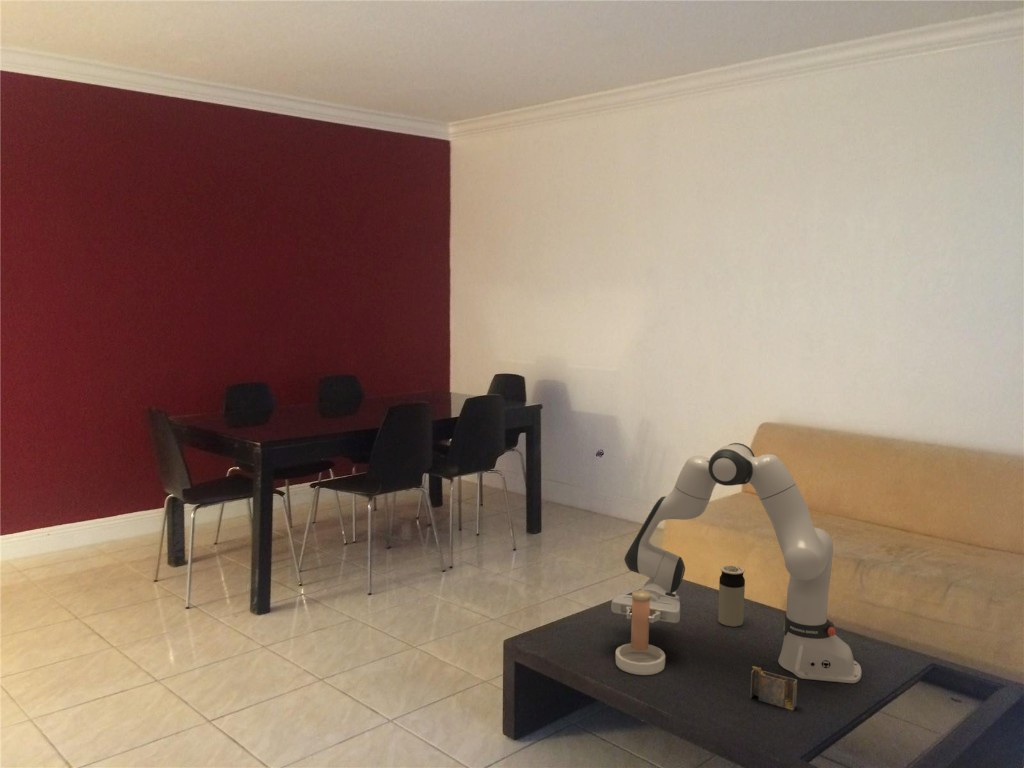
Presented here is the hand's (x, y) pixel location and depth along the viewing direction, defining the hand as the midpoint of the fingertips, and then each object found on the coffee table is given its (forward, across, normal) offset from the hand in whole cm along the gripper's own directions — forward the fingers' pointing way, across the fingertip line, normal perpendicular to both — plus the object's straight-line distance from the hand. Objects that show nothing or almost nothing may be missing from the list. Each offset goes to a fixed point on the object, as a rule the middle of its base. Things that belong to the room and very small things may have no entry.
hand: (639, 618), depth 239 cm
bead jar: (-1, 0, +9) cm, 9 cm away
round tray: (-1, 0, +14) cm, 14 cm away
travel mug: (-42, +20, +14) cm, 49 cm away
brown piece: (+7, +38, +14) cm, 41 cm away
